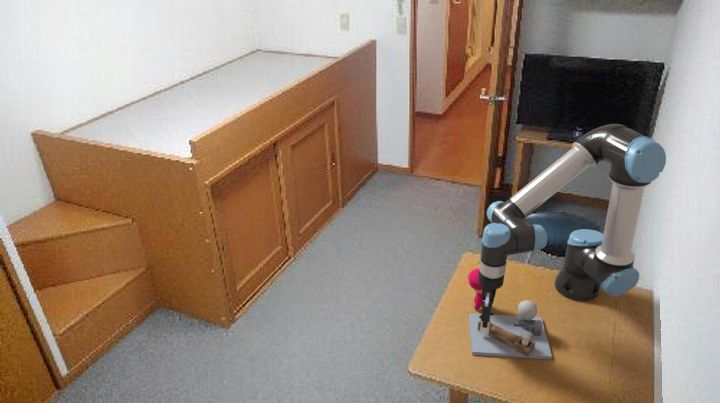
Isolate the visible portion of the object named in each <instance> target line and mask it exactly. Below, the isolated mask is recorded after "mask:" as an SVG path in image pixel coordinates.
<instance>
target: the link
mask: <svg viewBox="0 0 720 403" xmlns="http://www.w3.org/2000/svg"><path fill="white" fill-rule="evenodd" d="M480 326H481V319H480V320H479V321H478V330H479V331H480ZM488 335H490V336H492V337H494V338H496V339H498V340H500V341H502V342H504V343H506V344H508V345H510V346H512V347H514V350H516V351H518V352H520V353H522V354H524V355H526V356H529V354H530V353H531V352H532V350H533V349H534V348H535V343H536V342H535V341H533V340H531V339H530V340H529V343H528V346H529V347H528V348H527V347H525V346H523V345H521V343H522V335H521V336H518V335H516V334H513V333H511V332H509V331H507V330H505V329H503V328H501V327H498V326H496V325H494V324H492V323H491V320H490V327H489V333H488Z"/></svg>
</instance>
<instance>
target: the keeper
mask: <svg viewBox="0 0 720 403" xmlns="http://www.w3.org/2000/svg"><path fill="white" fill-rule="evenodd" d="M542 322H543V321H542ZM542 322H541V320H523V319H513V323H514V326H515V327H532V334H533V336H541V332H542V326H544V324H543V325H542Z"/></svg>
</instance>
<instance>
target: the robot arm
mask: <svg viewBox="0 0 720 403" xmlns="http://www.w3.org/2000/svg"><path fill="white" fill-rule="evenodd" d="M602 162H605V163H607V164H608V165H609V170H608V179H609V180H610V182H612V185H611V191H610V195H609V196H610V197H609V202H608V208H607V213H606V218H605V224H604V229H603V233H602V232H600V231H598V230H593V229H588V228H587V229H586V228H585V229H584V228H582V229H581V228H580V229H576V230H573V231H572V232H570V234H569V236H568V240H567V241H566V242H567V243H566V249H565V256H564V262H563V266H562V268H561V269H560V271H559V272H558V274H557V275H556V277H555V281H554V287H555V289H556V291H557V292H558V293H559V294H561V295H562V296H564V297H565V298H567V299H569V300H570V299H571V300H573V301H578V302H589V301H592V300H595V299H597V297H599V295H600V290H602V291H604V292H605V293H606V294H607V295H609V296H613V297H618V296H622V295H625V294H626V293H628V292H630V291H631V290H633V288H634V287H635V286H636V285H637V284H638V282H639V280H640V272H639V271H638V269H636V268H635V267H634V262H635V256H636V255H635V254H634V252H633V250H632V246H633V242H634V239H635V232H636V228H637V223H638V219H639V215H640V209H641V207H642V206H641V204H642V200H643V197H644V196H643V195H644V192H645V191H644V190H645V187H647V186H649V185H651V184H652V182H653V181H655V180H656V179H658V178H659V176H660V173H662V172H663V171H664V169H665V167H666V163H667V155H666V151H665V149H664V148H663V146H662V145H661V144H660V143H658V142H657V141H655V140H654V139H653V138H652V137H650V136H645V135H643V134H641V133H639V132H638V131H635V130H633V129H632V128H629V127H628V126H626V125H623V124H620V123H611V124H606V125H602V126H599V127H597V128H594V129H592V130H590V131H587V133H585V134H583V135H581V137H579V138H578V139H577V140H575V141H574V142H573V143H572V148H570V150H568V151H567V152H566V153H564V154H563V155H562V156H561V157H559V158H558V159H557V160H556V161H554V162H553V163H552V164H551V165H550V166H548V167H547V168H546V169H545V170H543V171H542V172H541V173H540V174H538V175H537V176H536V177H535V178H534V179H533V180H531V181H530V182H528V183H527V184H526V185H525V186H523V187H522V188H521V189H520V190H519V191H517V192H516V193H515V194H514V195H513V196H511V197H510V198H509V199H507V200H506V201H505V202H504V201H502V200H497V201H495V202H492V203H491V204H489V207H488V208H487V210H486V216H487V219H488V220H489V221H490V223H489V224H487V225H486V226H485V227H484V229H483V234H482V237H481V250H480V259H479V260H478V261H477V263H478V264H479V267H478V268H479V275H478V282H479V284H480V285H481V286H482V287H483V290H482V295H483V297H482V306H481V314H482V315H480V316H479V318H481V326H480V333H482V334H486V335H488V333H489V327H490V319H491V316H493V315H494V312H492V310H493V304H494V300H495V297H496V294H497V289H500V288H502V287H503V285H504V281H505V274H506V270H507V269H506V267H507V259H508V256H514V255H519V254H522V253H523V254H524V253H529V252H530V253H531V252H535V251H539V250H543V249H544V248H545V247H546V246H547V244H548V243H547V242H548V234H547V231H546V229H545V228H544V227H543V225H541V224H531V225H530V224H528V223H527V221H525V220H524V219H525V218H526V217H527V216H528V215H530V214H531V213H532V212H534V211H536V209H537V208H539V207H540V206H541V205H543V204H544V203H545V202H546V201H547V200H549V199H550V198H551V197H552V196H553V195H555V194H556V193H558V192H559V191H560V190H561V189H563V188H564V187H565V186H566V185H567V184H569V183H570V182H571V181H572V180H574V179H575V178H577V177H578V176H579V175H580V174H582V173H583V172H584V171H586V170H587V169H588V168H589V167H591V168H592V167H596V166H597V165H598V164H600V163H602ZM490 315H491V316H490Z"/></svg>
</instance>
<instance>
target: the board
mask: <svg viewBox="0 0 720 403" xmlns="http://www.w3.org/2000/svg"><path fill="white" fill-rule="evenodd" d="M480 315H482V313H468V316H467V317H468V318H467V319H468V327H469V328H468V329H469V338H470V345H471V346H470V347H471V354H472V356H473V355H475V356H488V357H489V356H490V357H504V358H505V357H506V358H525V359H540V360H541V359H542V360H552V358H553V355H552V352H551V348H550V344H549V340H548V336H547V334H546V330H545V326H544V322H543V319H542V317H541V316H535V317H534V318H533V319H532V320H541V322H542V325H543V326H542V332H541V336H533V334H532V327H529V329H527V330H526V329H523V328H522V327H515V326H514V323H513V319H521V318H520V315H504V314H503V315H502V314H493V316H491V315H490V316H491V319H490V320H491V323H492V324H494V325H496V326H498V327H501V328H503V329H505V330H507V331H509V332H511V333H513V334H516V335H518V336H521V335H522V343H521V345H523V346H525V347H527V348H528V347H529V346H528V343H529V340H530V339H531V340H533V341H535V342H536V343H535V348H534V349H533V350H532V352H531V353H530V354H529V356H526V355H524V354H522V353H520V352H518V351H516V350H514V347H512V346H510V345H508V344H506V343H504V342H502V341H500V340H498V339H496V338H494V337H492V336H490V335H486V334H482V333H480V331H479V330H478V321H479V320H480V319H481V318H479V316H480Z"/></svg>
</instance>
